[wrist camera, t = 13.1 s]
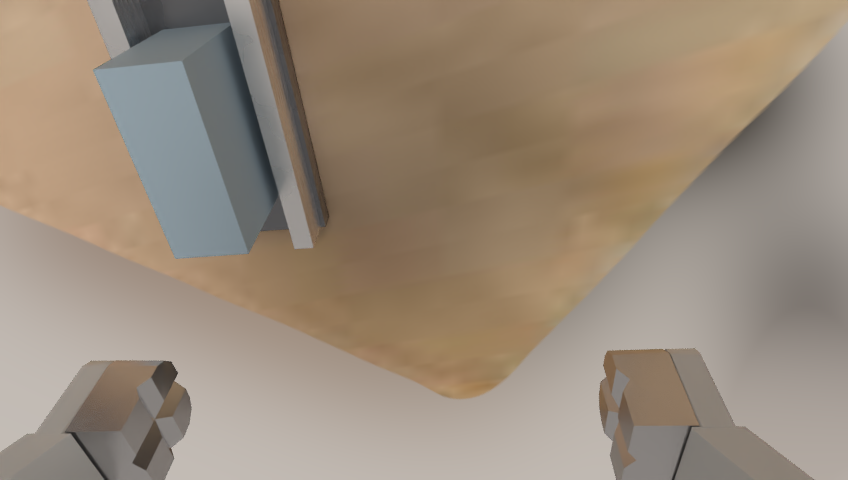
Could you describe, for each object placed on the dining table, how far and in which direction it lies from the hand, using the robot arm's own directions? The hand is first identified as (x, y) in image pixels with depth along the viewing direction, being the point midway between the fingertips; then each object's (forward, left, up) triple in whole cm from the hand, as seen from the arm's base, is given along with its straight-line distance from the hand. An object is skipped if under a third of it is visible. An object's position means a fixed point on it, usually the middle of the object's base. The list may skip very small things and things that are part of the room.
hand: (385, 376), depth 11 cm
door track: (+3, -12, -24) cm, 27 cm away
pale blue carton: (+3, -12, -23) cm, 26 cm away
